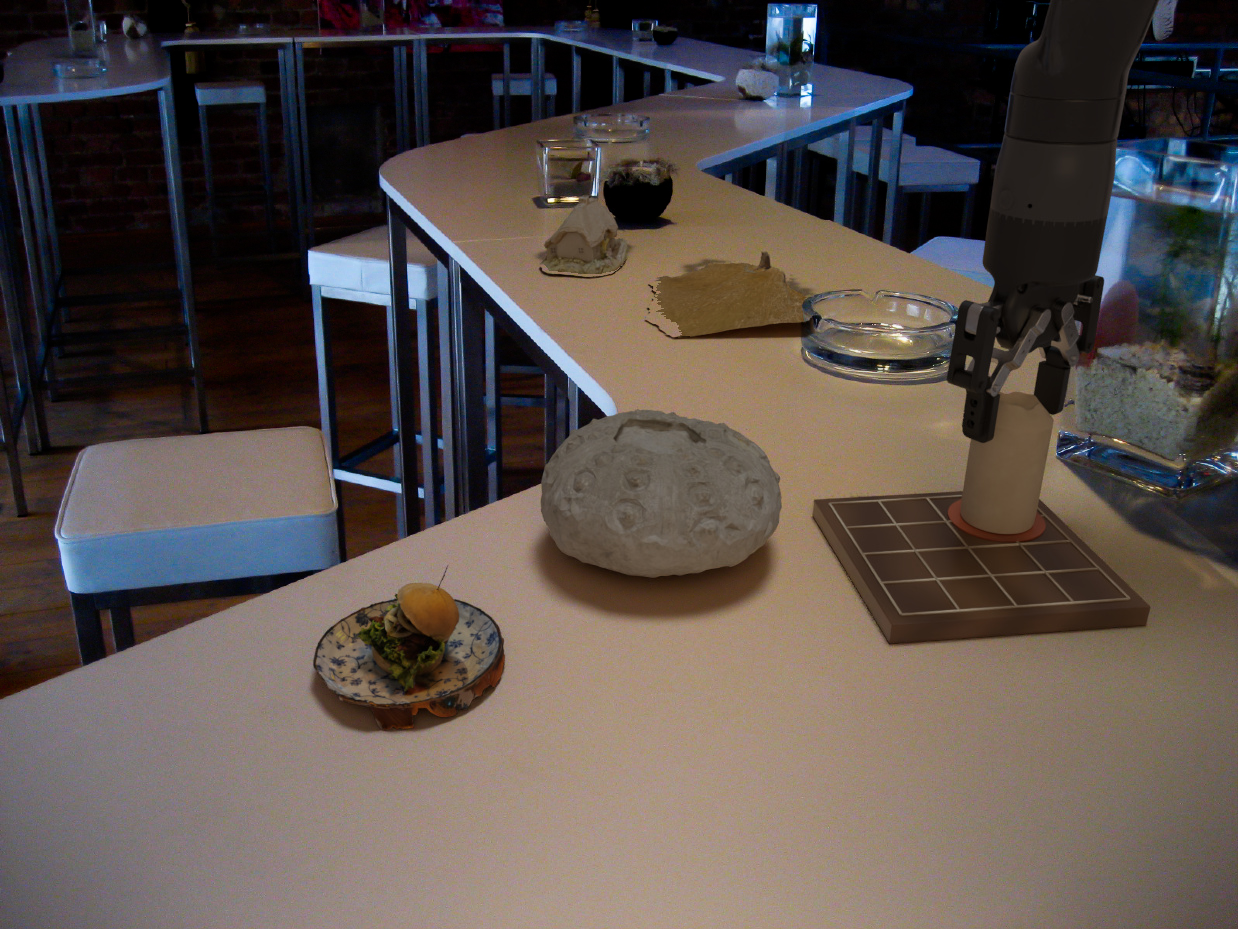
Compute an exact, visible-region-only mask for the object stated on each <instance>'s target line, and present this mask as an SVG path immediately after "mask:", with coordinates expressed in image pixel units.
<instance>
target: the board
mask: <svg viewBox="0 0 1238 929" xmlns="http://www.w3.org/2000/svg"><path fill="white" fill-rule="evenodd" d="M962 493H963V490H958V491H957V490H955V491H940V492H939V491H938V492H937V491H936V492H921V493H906V494H905V493H903V494H888V495H887V494H886V495H885V494H884V495H870V496H869V495H867V496H852V497H834V498H833V497H832V498H816V499H815V498H814V500H813V506H812V517H813V519H814V520H815V522H816V524H817V525H818V527H819V529H820V530H821V532H822V534H823V536H824V537H825V539H826V540H827V542H828V543H829V545H830V547H831V549H832V550H833V553H834V554H835V555H836V557H837V559H838V561H839V562H840V563H841V566H842V567H843V568H844V571H845V572H846V573H847V575H848V578H850V581H851V582H852V584H853V585H854V587H855V589H856V590H857V592H858V593H859V594H858V595H860V597H861V598H862V600H863V603H865V605H866V607H867V609H868V610H869V612H870V613H871V615H872V617H873V619H874V620H875V622H876V623H877V625H878V627H879V629H880V630H881V631H882V634H883V635H884V637H885V638H886V641H887V642H888V643H889V644H892V645H893V644H903V643H916V642H917V643H919V642H931V641H945V640H960V639H971V638H972V639H973V638H986V637H1001V635H1002V636H1012V635H1013V636H1015V634H1016V635H1028V633H1030V634H1041V633H1055V632H1067V631H1068V632H1070V631H1085V630H1097V629H1111V628H1123V627H1137V626H1146V625H1147V623H1148V619H1149V615H1150V611H1151V605H1150V604H1148V602H1146V601H1145V599H1144V598H1143V597H1141V596H1140V595H1139V593H1137V592H1136V591H1135V590H1134V588H1132V587H1131V586H1130V585H1129V584H1128V583H1127V582H1126V581H1125V580H1124V579H1123V578H1122V577H1121V576H1120V575H1119V574H1118V573H1116V572H1115V570H1114V569H1112V567H1111V566H1110V565H1108V564H1107V563H1106V562H1105V561H1104V560H1103V559H1102V558H1101V556H1099V555H1098V554H1097V553H1096V552H1095V551H1094V550H1093V549H1092V548H1091V547H1090V546H1089V545H1087V543H1086V542H1085V541H1084V540H1083V539H1081V537H1079V535H1078V534H1077V533H1076V532H1075V531H1073V530H1072V529H1071V528H1070V527H1069V526H1068V525H1067V524H1066V523H1065V522H1064V521H1063V519H1061V518H1060V517H1059V516H1058V515H1057V514H1056V513H1055V512H1054V511H1052V509H1051V508H1049V507H1048V505H1046V503H1045V502H1043V501H1042V500H1041V498H1039V502H1038V508H1037V513H1036V517H1035V522H1034V524H1033V526H1032V527H1031V529H1029V530H1027V531H1025V532H1022V533H1017V534H998V533H992V532H988V531H984V530H981V529H978V528H976V527H974V526H972V525H970V524H969V523H967V522H966V521H965V520H964V519H963V518H962V516H961V511H960V509H961V500H962Z"/></svg>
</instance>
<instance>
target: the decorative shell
mask: <svg viewBox="0 0 1238 929" xmlns="http://www.w3.org/2000/svg"><path fill="white" fill-rule="evenodd" d="M780 481H781V476H780V474H779V473H777V472H776V471H775V470H774V468H773V467H772V464H771V461H770V459H769V457H768V456H767V454H766V452H765V451H764V450H763V449H762V448H761V447H760V446H759V445H758V444H757V443H756V442H754V441H753V440H751V439H749V438H748V437H746V436H745V435H744V434H743V433H741V432H740V431H738V430H736V429H733V428H730V427H729V425H728V424H726V423H725V422H719V423H715V422H712V421H710V420H702V419H699V418H694V417H693V418H688V417H687V416H680V415H678V414H677V413H676V412H675V411H671V412H668V413H665V412H664V411H662V410H653V409H638V408H637V409H634V410H630V411H624V412H619V413H615V414H612V415H607V416H605V417H603V418H599V419H597V418H592V420H591V421H590V422H589V423H588V424H586V425H584V426H582V427H580V428H578V429H574V428H573V429H571V430H570V432H569V436H567V438H566V439H565V440H564V441H563V442H561V445H559V447H557V449H556V451H554V453H553V454H552V456H551V457H550V459H549V461H548V463H546V464H545V466H544V470H543V473H542V478H541V482H540V486H541V497H540V512H541V516H542V518H543V521H544V522H545V525H546V527H547V528H548V530H549V536H550V538H551V539H552V540H553V541H554V543H555V545H556V547H557V548H558V549H559V551H560V552H561V553H563V554H564V555H565V556H569V557H572V558H575V559H577V560H578V561H580V562H581V563H583V564H589V565H593V566H597V567H599V568H603V569H607V570H609V571H614V572H617V573H621V574H624V575H627V576H635V577H646V578H651V579H655V578H658V577H669V576H672V575H676V576H684V575H687V574H701V573H702V572H704V571H707V570H711V569H713V570H715V569H719V568H723V567H735V566H737V565H739V564H740V563H742V562H744V561H745V560H747V559H748V558H749V557H750V556H751V555H752V554H754V553H755V552H757V550H759V549H760V548H761V547H764V546H765V544H766V542H767V540H768V539H769V538H770V537H771V536H773V535H774V533H775V532H776V530H777V528H778V526H779V523H780V515H781V511H782V509H783V508H782V507H783V506H782V493H781V492H782V491H781V488H780V484H779V483H780Z"/></svg>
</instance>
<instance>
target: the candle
mask: <svg viewBox="0 0 1238 929" xmlns="http://www.w3.org/2000/svg"><path fill="white" fill-rule="evenodd" d="M998 394H1000V400H999V407H998V413H997V420H996V426H995V433H994V438H993V439H992V440H991V441H988V442H986V443H980V442H978V441H975V440H973V439H970V441H969V448H968V454H967V460H966V467H965V468H966V469H965V474H964V481H963V488H962V491H963V493H962V500H961V509H960V511H961V516H962V518H963V519H964V520H965V521H966V522H967V523H969V524H970V525H972V526H974V527H976V528H978V529H981V530H984V531H988V532H992V533H998V534H1017V533H1022V532H1025V531H1027V530H1029V529H1031V527H1032V526H1033V524H1034V522H1035V517H1036V513H1037V508H1038V502H1039V499H1040V496H1041V491H1042V486H1043V481H1044V475H1045V469H1046V464H1047V459H1048V453H1049V449H1050V444H1051V437H1052V432H1053V427H1054V422H1055V421H1054V418H1053V415H1051V414H1049V413H1048V411H1047V410H1046V409H1045V408H1044V407H1043V405H1042V404H1041V403H1040V402H1039V400H1038V399H1037V397H1036V396H1035V395H1034V394H1032V393H1026V392H1021V391H1012V392H1009V393H1004V392H1002V391H1000V392H999V393H998Z"/></svg>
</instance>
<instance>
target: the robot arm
mask: <svg viewBox="0 0 1238 929" xmlns="http://www.w3.org/2000/svg"><path fill="white" fill-rule="evenodd" d="M1159 3H1160V0H1050V2H1049V6H1048V8H1047V13H1046V16H1045V20H1044V24H1043V28H1042V30H1041V34H1040V37H1039V38H1038V39H1037V40H1035V41H1033V42H1031V43H1029V44H1027V45H1026V46H1025V47H1024V48H1023V49H1022V50H1021V51H1020V53H1019V54H1018V57H1017V59H1016V62H1015V65H1014V69H1013V73H1012V78H1011V84H1010V92H1009V96H1008V105H1007V111H1006V116H1005V117H1006V119H1005V126H1004V134H1003V137H1002V138H1003V139H1002V143H1001V147H1000V151H999V153H998V157H997V161H996V164H995V169H994V175H993V182H992V183H993V184H992V191H991V198H990V205H989V210H988V211H989V212H988V218H987V226H986V233H985V238H984V239H985V240H984V247H983V254H982V267H983V268H984V270H985V271H986V272H987V273H989V274H990V275H991V277H992V279H993V281H994V282H993V283H994V284H993V287H992V290H991V293H990V296H989V298H988V299H987V301H986V302H982V303H979V302H975V301H972V300H967V299H964V300H963V301H962V302H961V303H960V304H959V306H958V310H957V316H956V322H955V326H954V327H955V328H954V333H953V340H952V346H951V352H950V356H949V363H948V369H947V373H946V374H947V375H946V382H947V383H948V384H950V385H953V386H956V387H959V388H962V389H964V390H965V401H964V406H963V407H964V408H963V415H962V422H961V428H962V430H961V431H962V435H963V436H964V437H966V438H968V439H969V440H971V439H973V440H975V441H978V442H980V443H986V442H988V441H991V440H992V439H993V438H994V433H995V426H996V420H997V413H998V407H999V400H1000V394H998V393H999V392H1001V390H1002V388H1003V386H1004V385H1005V383H1006V381H1007V379H1008V378H1009V375H1010V374H1011V372H1012V371H1016V370H1018V369H1020V368H1021V367H1022V365H1023V364H1024V361H1025V360H1026V358H1027V356H1028V354H1031V353H1032V352H1034V351H1036V350H1037V349H1038V351H1039V354H1040V357H1041V358H1042V359H1045V360H1042V361H1039V362H1038V366H1037V372H1036V378H1035V384H1034V390H1033V395H1035V396H1036V397H1037V399H1038V400H1039V402H1040V403H1041V404H1042V405H1043V407H1044V408H1045V409H1046V410H1047V411H1048V413H1049V414H1050V415H1051V416H1055V415H1058V414H1061V413H1062V412H1063V411H1064V407H1065V406H1064V405H1065V400H1066V395H1067V392H1068V390H1067V389H1068V385H1069V380H1070V375H1071V374H1070V373H1071V368H1074V367H1075V366H1076V365H1077V364H1078V362H1079V360H1080V355H1081V354H1086V355H1089V354H1090V353H1092V351H1093V350H1094V347H1095V343H1096V337H1097V331H1098V325H1099V319H1100V318H1099V317H1100V311H1101V306H1102V299H1103V292H1104V286H1105V278H1104V277H1103V276H1100V275H1097V272H1098V269H1099V264H1100V258H1101V254H1102V253H1101V252H1102V246H1103V242H1104V236H1105V231H1106V225H1107V220H1108V215H1109V210H1110V204H1111V198H1112V192H1113V190H1114V189H1113V188H1114V182H1115V176H1116V163H1117V162H1116V159H1117V157H1116V156H1117V147H1118V146H1117V145H1118V137H1119V134H1120V127H1121V122H1122V116H1123V112H1124V106H1125V101H1126V94H1127V88H1128V79H1129V73H1130V70H1131V68H1132V65H1133V64H1134V60H1135V58H1136V57H1137V54H1138V53H1139V51H1140V48H1141V46H1142V44H1143V42H1144V41H1145V37H1146V35H1147V33H1148V30H1149V28H1150V25H1151V22H1152V20H1153V18H1154V15H1155V12H1156V10H1157V9H1158V5H1159ZM1076 322H1079V323H1081V324H1082V329H1081V334H1079V330H1078V328H1077V324H1076ZM996 341H997V344H998V345H999V346H1000V348H1002V349H1000V348H997V347H995V342H996ZM1004 349H1005V350H1004ZM967 356H968V357H970V358H972V359H971V361H970V362H969V365H968V366H967V368H966V369H965V367H966V362H967V358H968V357H967ZM992 363H993V364H996V366H995V367H994V370H993V372H992V373H991V375H990V370H991V369H990V368H991V364H992Z"/></svg>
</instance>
